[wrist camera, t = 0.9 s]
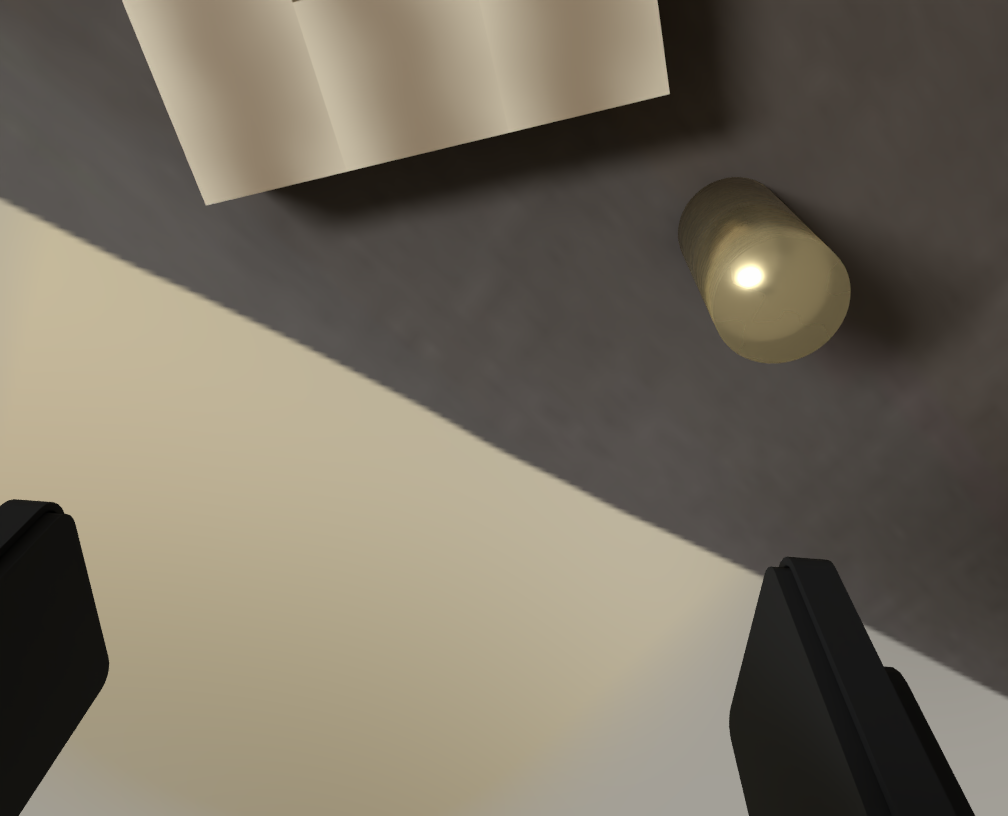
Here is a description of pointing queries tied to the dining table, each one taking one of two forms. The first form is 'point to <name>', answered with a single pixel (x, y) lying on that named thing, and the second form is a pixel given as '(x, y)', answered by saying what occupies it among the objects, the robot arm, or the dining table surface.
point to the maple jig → (381, 77)
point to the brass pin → (762, 272)
